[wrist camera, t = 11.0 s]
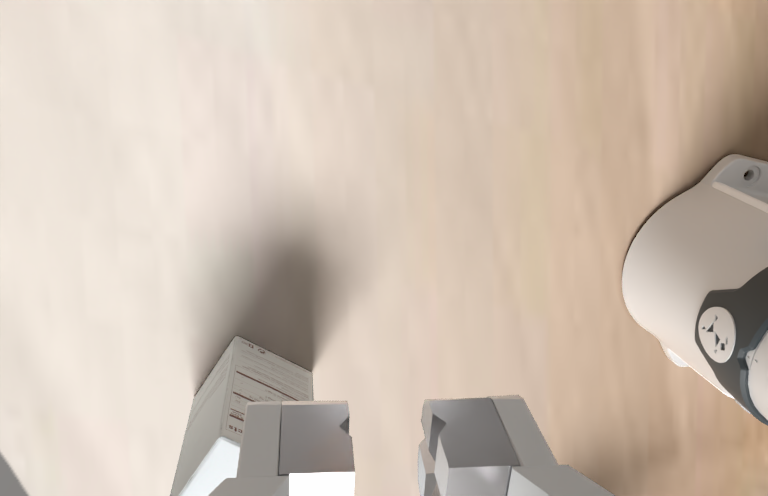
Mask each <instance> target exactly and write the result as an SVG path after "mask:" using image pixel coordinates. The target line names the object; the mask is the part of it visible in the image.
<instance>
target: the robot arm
mask: <svg viewBox="0 0 768 496" xmlns="http://www.w3.org/2000/svg"><path fill="white" fill-rule="evenodd" d="M746 171H748V174H747V176H746V177H744V174H745V172H746ZM622 291H623V296H624V300H625V304H626V306H627V308H628V310H629V312H630V314H631V315H632V317H633V318H634V320H635V321H636V322H637V323H638V324H639V325H640V326H641V327H643V328H644V329H645V330H647V331H648V332H649V333H651V334H652V335H654V336H655V337H656V338H657V339H658V340H659V341H660V344H661V346H662V348H663V350H664V352H665V354H666V356H667V357H668V358H669V359H670V360H671V361H672V362H673V363H675V364H676V365H677V366H680V367H687V366H690V367H691V368H692V369H694V370H695V371H696V372H697V373H699V374H700V375H701V376H702V377H704V378H705V379H706V380H707V381H709V382H710V383H711V384H712V385H714V386H715V387H716V388H717V389H719V390H720V391H721V392H723V393H724V394H725V395H727V396H728V397H731V398H734V399H735V401H736V402H737V403H738V404H739V405H740V406H741V407H742V408H743V409H744V410H746V411H747V412H748V413H750V414H752V415H753V416H754V417H756V418H757V419H758V420H759V421H761V422H762V423H764V424H766V425H768V162H767V161H763V160H759V159H755V158H751V157H747V156H743V155H739V154H731V155H728V156H726V157H724V158H723V159H721V160H720V161H719V162H718V163H717V164H716V165H715V166H714V167H713V168H712V169H711V170H710V171H709V172H708V174H707V175H706V176H705V177H704V178H703V179H702V180H701V182H699V183H698V184H697V185H695V186H694V187H692V188H691V189H689V190H687V191H686V192H684V193H682V194H680V195H679V196H677V197H675V198H674V199H672V200H670V201H669V202H668V203H666V204H665V205H664V206H662V207H661V208H660V209H659V210H658V211H657V212H656V213H654V214H653V215H652V216H651V218H650V219H649V220H648V221H647V222H646V223H645V224H644V226H643V227H642V228H641V230H640V231H639V233H638V234H637V236H636V237H635V239H634V241H633V242H632V245H631V247H630V249H629V251H628V254H627V257H626V260H625V263H624V268H623V274H622ZM421 422H422V426H423V430H424V434H425V439H424V440H423V441H422V442H421V443H420V444H419V452H418V483H419V490H420V496H615V495H614V494H612V493H610V492H609V491H607V490H606V489H604V488H603V487H601V486H600V485H598V484H597V483H595V482H594V481H592V480H590V479H589V478H587V477H586V476H584V475H583V474H581V473H580V472H578V471H577V470H575V469H573V468H572V467H570V466H569V465H558V463H557V461H556V459H555V457H554V456H553V454H552V452H551V450H550V448H549V446H548V444H547V442H546V440H545V439H544V437H543V435H542V433H541V431H540V429H539V427H538V425H537V423H536V422H535V420H534V418H533V416H532V414H531V412H530V410H529V408H528V406H527V405H526V403H525V401H524V399H523V398H522V397H521V396H519V395H507V396H489V397H487V398H460V399H427V400H425V401H424V405H423V410H422V419H421ZM354 480H355V468H354V457H353V446H352V437H351V436H350V435H349V408H348V402H347V401H282V403H281V402H280V401H261V402H248V403H247V405H246V407H245V415H244V423H243V430H242V438H241V445H240V453H239V460H238V468H237V476H236V478H226V479H224V480H223V481H222V482H221V483H220V484H219V485H218V486H217V487H216V488H215V489H214V490H213V491H212V492H211V493H210V494H209V495H208V496H354Z"/></svg>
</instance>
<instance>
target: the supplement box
mask: <svg viewBox="0 0 768 496" xmlns="http://www.w3.org/2000/svg"><path fill="white" fill-rule="evenodd" d="M261 401H280V402H281V403H282V401H314V399H313V375H312V373H311V372H309V371H308V370H306V369H304V368H302V367H300V366H298V365H296V364H294V363H292V362H290V361H288V360H286V359H284V358H282V357H280V356H278V355H276V354H274V353H272V352H270V351H268V350H266V349H264V348H262V347H260V346H258V345H256V344H254V343H251V342H249V341H247V340H245V339H243V338H241V337H239V336H235V337H234V339H233V340H232V342H231V343H230V345H229V346H228V347H227V349H226V350H225V352H224V353H223V355H222V356H221V358H220V359H219V361H218V362H217V364H216V365H215V367H214V368H213V370H212V371H211V373H210V375H209V376H208V378H207V379H206V381H205V382H204V384H203V385H202V387H201V388H200V390H199V391H198V393H197V394H196V396H195V397H194V399H193V404H192V408H191V412H190V416H189V420H188V424H187V428H186V432H185V436H184V440H183V445H182V449H181V453H180V457H179V461H178V465H177V469H176V473H175V477H174V481H173V485H172V490H171V494H170V496H208V495H209V494H210V493H211V492H212V491H213V490H214V489H215V488H216V487H217V486H218V485H219V484H220V483H221V482H222V481H223V480H224V479H226V478H236V476H237V468H238V460H239V453H240V445H241V438H242V430H243V423H244V415H245V407H246V405H247V403H248V402H261Z"/></svg>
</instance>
